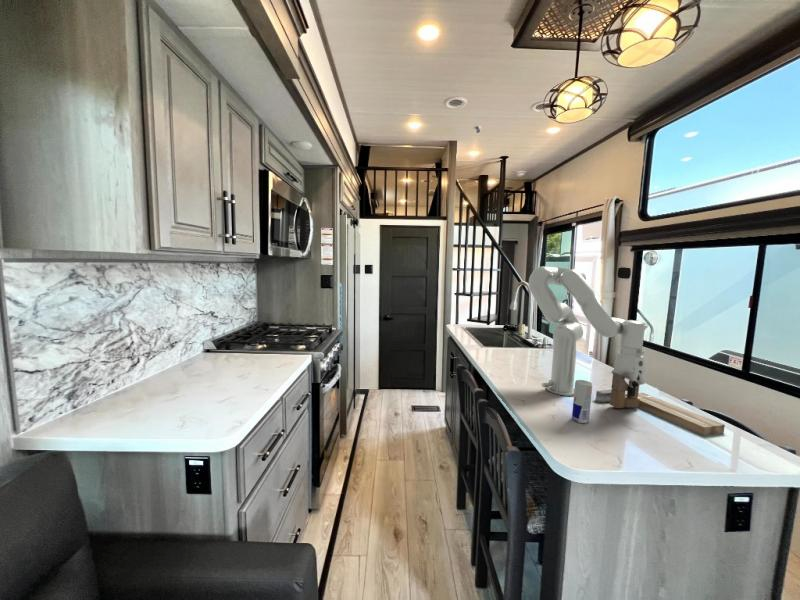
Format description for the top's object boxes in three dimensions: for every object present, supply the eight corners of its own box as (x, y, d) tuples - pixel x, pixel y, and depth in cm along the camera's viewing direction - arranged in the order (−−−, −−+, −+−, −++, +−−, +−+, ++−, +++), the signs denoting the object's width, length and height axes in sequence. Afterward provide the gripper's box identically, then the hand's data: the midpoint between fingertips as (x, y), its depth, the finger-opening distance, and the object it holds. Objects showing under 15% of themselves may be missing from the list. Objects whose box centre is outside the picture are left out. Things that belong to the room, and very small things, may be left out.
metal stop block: (601, 402, 140) (602, 393, 140) (595, 399, 143) (596, 390, 143) (620, 400, 143) (620, 391, 142) (613, 398, 146) (614, 389, 145)
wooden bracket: (609, 404, 136) (613, 362, 134) (631, 403, 138) (636, 362, 136) (616, 408, 133) (621, 365, 131) (639, 407, 134) (644, 365, 132)
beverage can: (587, 418, 124) (590, 380, 123) (590, 425, 119) (594, 385, 117) (570, 416, 126) (574, 378, 124) (573, 422, 121) (576, 383, 119)
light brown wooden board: (703, 435, 114) (704, 427, 114) (624, 400, 143) (625, 394, 143) (723, 432, 117) (724, 424, 116) (642, 399, 145) (643, 392, 145)
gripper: (658, 356, 126) (652, 401, 128) (619, 345, 142) (614, 386, 144) (643, 356, 124) (637, 403, 126) (605, 346, 140) (601, 387, 142)
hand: (625, 393), depth 135 cm, fingers closed on wooden bracket, 3 cm apart
